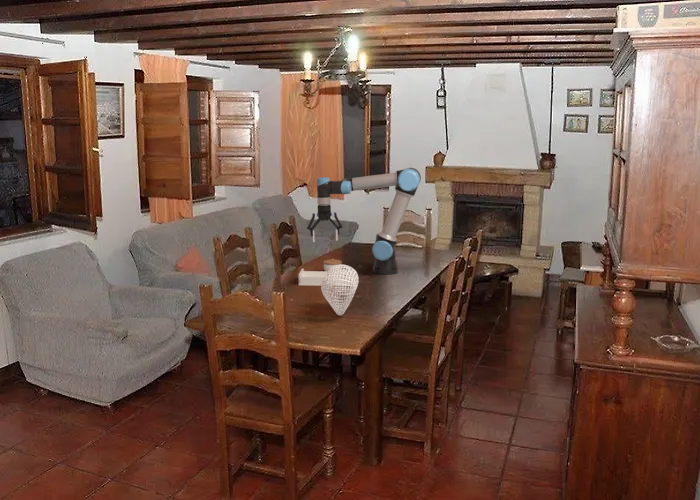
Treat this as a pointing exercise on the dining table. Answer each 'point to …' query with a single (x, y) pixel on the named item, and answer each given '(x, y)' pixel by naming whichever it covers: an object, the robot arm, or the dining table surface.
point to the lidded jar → (331, 264)
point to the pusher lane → (317, 278)
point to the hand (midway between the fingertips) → (325, 241)
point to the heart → (327, 283)
